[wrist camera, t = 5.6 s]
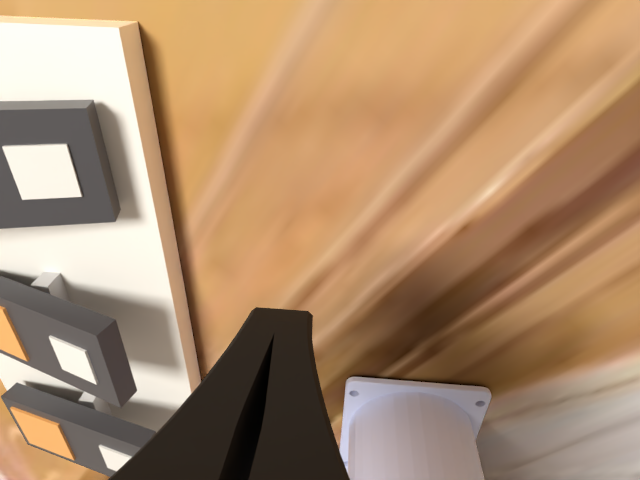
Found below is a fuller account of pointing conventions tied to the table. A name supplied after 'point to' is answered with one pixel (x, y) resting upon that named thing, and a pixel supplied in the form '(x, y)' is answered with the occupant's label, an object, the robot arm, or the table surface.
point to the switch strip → (113, 237)
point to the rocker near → (54, 165)
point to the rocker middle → (65, 342)
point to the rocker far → (74, 430)
